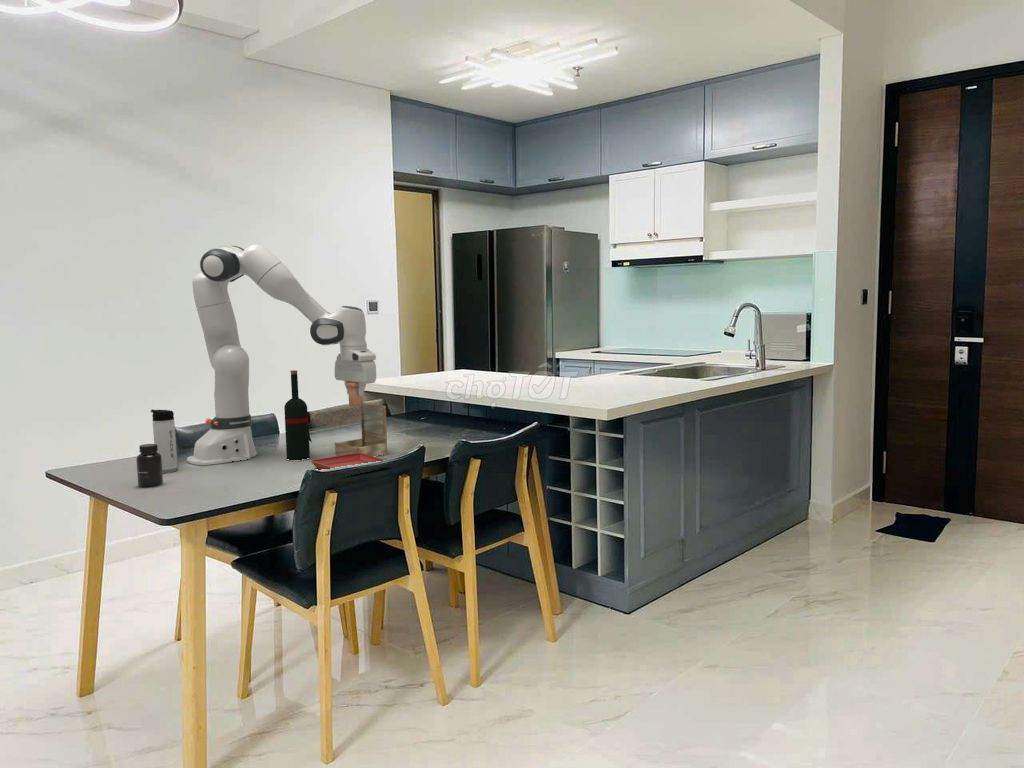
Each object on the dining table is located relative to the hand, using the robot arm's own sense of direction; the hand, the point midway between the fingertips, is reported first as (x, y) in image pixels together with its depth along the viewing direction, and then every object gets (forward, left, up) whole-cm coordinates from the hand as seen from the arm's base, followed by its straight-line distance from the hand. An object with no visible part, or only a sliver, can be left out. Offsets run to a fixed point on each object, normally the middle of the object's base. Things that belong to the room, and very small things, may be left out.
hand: (355, 394), depth 260 cm
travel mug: (-54, +27, -21) cm, 64 cm away
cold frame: (+2, +1, -21) cm, 21 cm away
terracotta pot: (0, 0, -4) cm, 4 cm away
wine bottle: (-15, +12, -21) cm, 29 cm away
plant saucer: (-13, -15, -22) cm, 29 cm away
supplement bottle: (-64, +12, -21) cm, 68 cm away
